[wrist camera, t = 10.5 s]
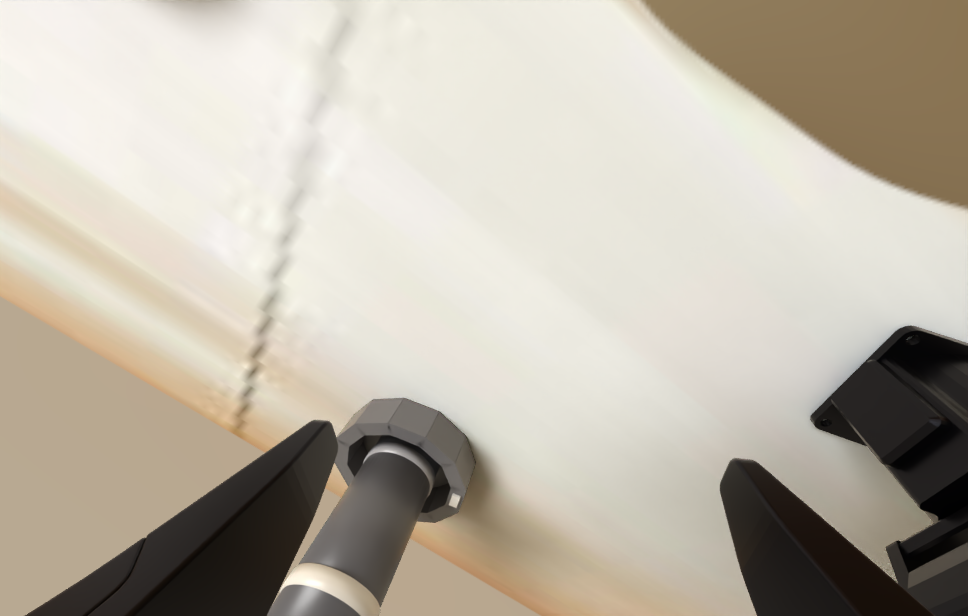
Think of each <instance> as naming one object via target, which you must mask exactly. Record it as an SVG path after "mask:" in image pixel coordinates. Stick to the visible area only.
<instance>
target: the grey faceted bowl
mask: <svg viewBox="0 0 968 616" xmlns="http://www.w3.org/2000/svg"><path fill="white" fill-rule="evenodd" d="M381 435H391V436H394V437H396V438H399V439H402V440H404V441H407V442H409V443H412V444H414V445H417V446H419V447H420V448H421V449H423V450H424V451H425V452H426V453H427V454H428V455H429V456H431V457H432V458H433V459H434V460H435V461H436V462H437V463H438V464H440V468H439V470H438V472H437V475H436V477H435V483H434V485H433V488H432V490H431V493H430V495H429V496H428V497H427V498H426V501H425V503H424V506H423V508H422V510H421V513H420V515H419V517H418V520H417V521H419V522H432V523H436V522H438V521H441V520H443V519H445V518H447V517H450V516H452V515H454V514H457V513H458V512H459V509H460V507H461V504H462V502H463V499H464V496H465V494H466V491H467V488H468V485H469V482H470V479H471V476H472V473H473V470H474V466H475V463H476V462H475V460H474V457H473V454H472V451H471V449H470V446H469V443H468V441H467V438H466V436H465V435H464V434H463V433H462V432H461V431H460V430H459V429H458V428H457V427H455V426H454V425H453V424H452V423H451V422H450V421H449V420H448V419H447V418H446V417H445V416H443V415H442V414H441V413H440V412H439V411H436V410H434V409H431V408H429V407H426V406H424V405H421V404H418V403H416V402H413V401H411V400H408V399H405V398H395V399H375V400H372V401H370V402H369V403H368V404H367V405H365V406H364V407H363V408H362V409H360V410H359V411H358V412H357V413H355V414H354V415H353V417H352V418H351V419H350V421H349V422H348V423H347V424H346V426H345V427H344V428H343V430H342V431H341V432H340V433H339V435H338V436H337V437H336V438H337V441H338V453H337V456H336V459H335V462H334V463H335V464H336V466H337V468H338V469H339V471H340V473H341V475H342V476H343V478H344V480H345V482H346V483H347V485H348V486H349V485H350V484H351V482H352V480H353V479H354V477H355V476H356V474H357V473H358V471H359V469H360V468H361V466H362V465H363V461H364V459H365V458H366V456H367V455H368V453H369V451H370V450H371V449H372V448H373V447H374V446H375V445H376V443H377V441H378V440H379V438H380V437H381Z"/></svg>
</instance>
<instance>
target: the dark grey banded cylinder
mask: <svg viewBox="0 0 968 616" xmlns="http://www.w3.org/2000/svg"><path fill="white" fill-rule="evenodd" d="M439 468H440V464H438V463H437V462H436V461H435V460H434V459H433V458H432V457H431V456H429V455H428V454H427V453H426V452H425V451H424V450H423V449H421V448H420V447H419V446H417V445H414V444H412V443H409V442H407V441H404V440H402V439H399V438H396V437H394V436H391V435H381V437H380V438H379V440H378V441H377V443H376V445H375V446H374V447H373V448H372V449H371V450H370V451H369V453H368V455H367V456H366V458H365V459H364V461H363V465H362V466H361V468H360V469H359V471H358V473H357V474H356V476H355V477H354V479H353V480H352V482H351V484H350V485H349V487H348V488H347V490H346V491H345V493H344V494H343V496H342V498H341V499H340V501H339V502H338V504H337V505H336V507H335V509H334V510H333V512H332V513H331V515H330V516H329V518H328V520H327V521H326V522H325V524H324V526H323V527H322V529H321V530H320V532H319V533H318V535H317V537H316V538H315V540H314V541H313V543H312V544H311V546H310V547H309V549H308V551H307V552H306V554H305V555H304V557H303V558H302V560H301V561H300V563H299V564H298V565H297V566H296V567H295V568H294V569H293V570H292V572H291V574H290V575H289V577H288V578H287V580H286V581H285V583H284V584H283V586H282V587H281V589H280V594H279V596H278V597H277V599H276V600H275V602H274V603H273V605H272V606H271V608H270V610H269V612H268V614H267V616H379V614H380V607H381V605H382V602H383V600H384V598H385V595H386V593H387V591H388V588H389V586H390V584H391V581H392V579H393V576H394V574H395V572H396V569H397V567H398V565H399V562H400V560H401V557H402V555H403V553H404V550H405V548H406V545H407V543H408V541H409V539H410V536H411V534H412V532H413V529H414V527H415V524H416V522H417V520H418V517H419V515H420V513H421V510H422V508H423V506H424V503H425V501H426V498H427V497H428V496H429V495H430V493H431V490H432V488H433V485H434V483H435V477H436V475H437V472H438V470H439Z"/></svg>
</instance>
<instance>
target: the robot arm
mask: <svg viewBox="0 0 968 616" xmlns="http://www.w3.org/2000/svg"><path fill="white" fill-rule="evenodd" d="M913 335H914V336H913ZM910 336H913V338H911V339H909V340H906V339H907V338H908V337H910ZM824 419H827V420H825V421H822V420H824ZM811 421H812V422H813V424H814V425H815V427H816V428H818V429H820V430H823V431H825V432H828V433H831V434H834V435H837V436H840V437H842V438H845V439H848V440H851V441H854V442H856V443H859V444H862V445H865V446H868V448H869V449H870V450H871V451H872V452H873V454H874V455H875V456H876V457H877V459H878V460H879V461H880V462H881V463H882V464H884V465H885V466H886V468H887V469H888V470H889V471H890V472H891V474H892V475H893V476H894V477H895V479H896V480H897V481H898V482H899V483H900V485H901V486H902V487H903V488H904V490H905V491H906V492H907V493H908V494H909V496H910V497H911V498H912V499H913V500H914V502H915V503H916V504H917V505H918V507H919V508H920V509H922V510H923V511H925V512H926V514H927V515H928V516H929V517H930V518H931V520H932V521H933V522H934V524H932V525H930V526H928V527H927V528H925V529H923V530H921V531H920V532H918V533H916V534H914V535H913V536H911V537H909V538H907V539H906V540H904V541H902V542H901V541H896V542H894V543H892V544H891V545H889V546H887V547H886V550H887V553H888V556H889V559H890V561H891V564H892V567H893V570H894V573H895V576H896V578H897V581H898V583H896V582H895V581H894V580H893V579H892V578H891V577H890V576H888V575H887V574H886V573H885V572H884V571H883V570H881V569H880V568H879V567H878V566H877V565H876V564H874V563H873V562H872V561H871V560H870V559H869V558H868V557H866V556H865V555H864V554H863V553H862V552H861V551H859V550H858V549H857V548H856V547H855V546H854V545H853V544H851V543H850V542H849V541H848V540H847V539H846V538H844V537H843V536H842V535H841V534H840V533H839V532H837V531H836V530H835V529H834V528H833V527H832V526H831V525H829V524H828V523H827V522H826V521H825V520H824V519H822V518H821V517H820V516H819V515H818V514H817V513H816V512H814V511H813V510H812V509H811V508H810V507H809V506H807V505H806V504H805V503H804V502H803V501H802V500H800V499H799V498H798V497H797V496H796V495H795V494H794V493H792V492H791V491H790V490H789V489H788V488H787V487H785V486H784V485H783V484H782V483H781V482H780V481H779V480H777V479H776V478H775V477H774V476H773V475H772V474H770V473H769V472H768V471H767V470H766V469H765V468H763V467H762V466H761V465H760V464H759V463H757V462H756V461H754V460H750V459H739V458H734V459H732V460H731V461H730V462H729V464H728V466H727V469H726V471H725V473H724V475H723V478H722V480H721V483H720V493H721V498H722V501H723V505H724V509H725V513H726V517H727V520H728V524H729V528H730V532H731V536H732V540H733V543H734V547H735V551H736V555H737V559H738V562H739V566H740V569H741V572H742V575H743V578H744V581H745V584H746V587H747V589H748V592H749V595H750V597H751V600H752V603H753V606H754V608H755V611H756V614H757V616H968V343H965V342H962V341H959V340H956V339H953V338H950V337H947V336H944V335H940V334H937V333H934V332H931V331H928V330H925V329H922V328H919V327H915V326H905V327H903V328H900V329H898V330H897V331H896V332H895V333H894V334H893V335H892V336H891V337H890V338H889V339H888V340H887V341H886V342H885V343H884V344H883V345H882V346H880V347H879V348H878V349H877V350H876V351H875V352H874V353H873V354H872V355H871V356H870V357H869V358H868V359H867V360H866V361H865V362H864V363H863V364H862V365H861V366H860V367H859V368H858V369H857V370H856V371H855V372H854V373H853V374H852V375H851V376H850V377H849V378H848V379H847V380H846V381H845V382H844V383H843V384H842V385H841V386H840V387H839V388H838V389H837V390H836V391H835V392H834V393H833V394H832V395H831V396H830V397H829V398H828V399H827V400H826V401H825V402H824V403H823V404H822V405H821V406H820V407H819V408H818V409H817V410H816V411H815V412H814V413H813V414H812V415H811ZM337 453H338V441H337V438H336V435H335V432H334V429H333V426H332V423H331V422H329V421H324V420H313V421H311V422H309V423H308V424H306V425H305V426H303V427H302V428H300V429H299V430H298V431H296V432H295V433H293V434H292V435H290V436H289V437H288V438H286V439H285V440H283V441H282V442H280V443H279V444H277V445H276V446H275V447H273V448H272V449H270V450H269V451H267V452H266V453H265V454H263V455H262V456H260V457H259V458H257V459H256V460H255V461H253V462H252V463H250V464H249V465H247V466H246V467H244V468H243V469H242V470H240V471H239V472H237V473H236V474H234V475H233V476H231V477H230V478H229V479H227V480H226V481H224V482H223V483H221V484H220V485H219V486H217V487H216V488H214V489H213V490H211V491H210V492H208V493H207V494H206V495H204V496H203V497H201V498H200V499H198V500H197V501H196V502H194V503H193V504H191V505H190V506H188V507H187V508H185V509H184V510H183V511H181V512H180V513H178V514H177V515H175V516H174V517H173V518H171V519H170V520H168V521H167V522H166V523H164V524H162V525H161V526H160V527H158V528H157V529H155V530H154V531H153V532H151V533H150V534H148V535H147V537H146V538H142V539H141V540H139V541H138V542H137V543H135V544H134V545H132V546H131V547H129V548H128V549H126V550H125V551H124V552H122V553H121V554H119V555H118V556H116V557H115V558H113V559H112V560H110V561H109V562H107V563H106V564H104V565H103V566H101V567H100V568H99V569H97V570H96V571H94V572H93V573H91V574H89V575H88V576H87V577H85V578H84V579H82V580H80V581H79V582H77V583H76V584H74V585H73V586H71V587H69V588H68V589H66V590H65V591H63V592H62V593H60V594H59V595H57V596H55V597H54V598H52V599H51V600H49V601H48V602H46V603H44V604H43V605H41V606H40V607H38V608H36V609H35V610H33V611H32V612H30V613H28V614H27V615H25V616H267V614H268V612H269V610H270V608H271V606H272V604H273V602H274V600H275V598H276V595H277V593H278V591H279V589H280V587H281V585H282V583H283V581H284V579H285V577H286V575H287V572H288V570H289V568H290V566H291V564H292V562H293V560H294V558H295V556H296V554H297V552H298V549H299V548H300V545H301V543H302V541H303V539H304V537H305V535H306V533H307V531H308V529H309V527H310V524H311V522H312V520H313V518H314V516H315V513H316V510H317V508H318V505H319V502H320V500H321V497H322V494H323V492H324V489H325V486H326V483H327V481H328V478H329V475H330V473H331V470H332V467H333V464H334V462H335V459H336V456H337Z"/></svg>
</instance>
